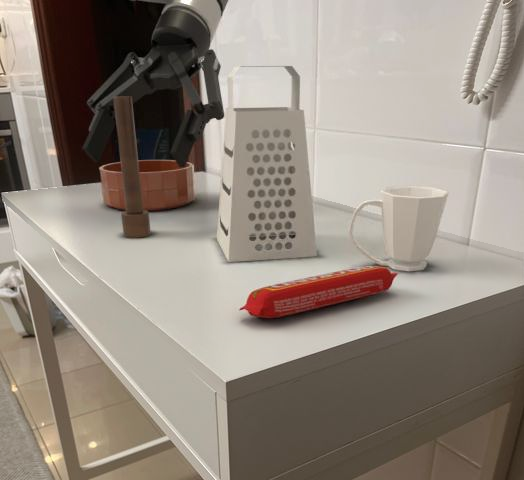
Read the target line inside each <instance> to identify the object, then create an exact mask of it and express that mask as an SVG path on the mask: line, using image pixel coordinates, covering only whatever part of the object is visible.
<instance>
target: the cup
mask: <svg viewBox="0 0 524 480" xmlns="http://www.w3.org/2000/svg"><path fill="white" fill-rule="evenodd" d="M379 192H380V199H378V198H377V199H367V200H365V201H363V202H361V203H360V204H359V205H358V206H357V207H356V208H355V209H354V211H353V213H352V217H351V219H350V225H349V232H348V233H349V237H350V240H351V243H352V244H353V246H354V247H355V248H356V250H357V251H358V252H360V253H361V254H362V255H363V256H365V257H366V258H367V259H369V260H370V261H371V262H372V263H373V262H374V263H375V264H378V265H379V266H382V267H388V268H390V269H393V270H395V271H401V272H417V271H423V270H424V269H425V268H426V267H427V265H428V263H427V262H426V261H425V260H426V259H428V257H429V255H430V253H431V250H432V248H433V246H434V243H435V240H436V238H437V235H438V231H439V227H440V224H441V220H442V217H443V214H444V209H445V207H446V203H447V199H448V196H449V191H447V190H443V189H440V188H437V187H433V186H421V185H419V186H418V185H400V186H398V185H397V186H388V187H386V188H385V189H384V188H383V189H382V190H380V191H379ZM366 206H374V207H379V208H381V222H382V224H381V225H382V238H383V243H384V249H385V255H386V256H387V257H389V259H388V260H381V259H379V258H377V257H375V256H373V255H372V254H370V253H369V252H367V251H366V250H365V249H364V248H362V246H360V245H359V243H358V242H357V241H356V240H355V237H354V235H353V230H354V224H355V222H356V218H357V216H358V214H359V213H360V212H361V211H362V209H363V208H364V207H366Z"/></svg>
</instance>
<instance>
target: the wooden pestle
mask: <svg viewBox="0 0 524 480" xmlns="http://www.w3.org/2000/svg"><path fill="white" fill-rule="evenodd" d="M113 99H114V108H115V126H116V135H117V142H118V151H119V159H120V160H119V162H121V169H122V178H123V187H124V196H125V204H126V210H123V211H122V212H121V213H120V215H121V224H122V225H121V226H122V233H123V236H124V237H125V238H129V239H130V238H131V239H140V238H146V237H148V236H151V233H152V232H151V220H150V213H149V212H150V211H147V210H143V204H142V194H141V184H140V174H139V164H138V160H139V156H138V155H139V154H138V147H137V135H136V125H135V118H134V117H135V115H134V106H133V104H132V97H131V96H116V97H113Z"/></svg>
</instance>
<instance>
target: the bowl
mask: <svg viewBox="0 0 524 480" xmlns="http://www.w3.org/2000/svg"><path fill="white" fill-rule="evenodd" d="M138 164H139V174H140V184H141V194H142V204H143V210H147V211H148V212H153V211H165V210H170V209H171V210H173V209H176V208H180V207H183V206H186V205H188V204H189V203H191V202H193V201H195V199H196V184H195V183H196V182H195V165H194V163H192V162H188V161H187V163H186V165H185V167H179V165H178V164H177V162H176V161H175V159H142V160H139V159H138ZM98 171H99V179H100V185H101V186H100V187H101V194H102V201H103V203H104V205H107V206H110V207H112V208H114V209H117V210H120V211H121V210H122V211H126V204H125V196H124V187H123V178H122V169H121V161H118V162H112V163H107V164H103V165H102V166H100V167H98Z"/></svg>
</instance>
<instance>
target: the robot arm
mask: <svg viewBox="0 0 524 480" xmlns="http://www.w3.org/2000/svg"><path fill="white" fill-rule="evenodd" d="M129 1H131V2H136V1H137V0H129ZM138 1H142V2H148V3H157V4H165V5H164V7H163V9H162V11H161V15H160V16H159V19H158V21H157V23H156V25H155V28H154V30H153V32H152V34H151V47H150V51H149V52H148V54H146V55H145V56H144V57H139V56H137V54H136V52H135V51H130V52H129V53H128V54H127V55H126V57H125V59H124V60H123V63H121V65H120V66H119V67H118V68H117V69H116V70H115V71H114V72H113V73H112V74H111V76H109V77H108V78H107V80H106V81H105V82H104V83H103V84H102V85H101V86H100V87H99V88H98V89H97V90H96V91H95V92H94V93H93V94H92V95H91V96H90V97H89V98H88V100H87V101H86V105H87V106H88V107H89V109H90V110H91V111H92V112H93V114H94V115H93V118H92V120H91V122H90V124H89V127H88V132H89V133H88V135H87V137H86V140H85V142H84V144H83V146H82V148H81V149H82V151H83V152H84V153H85V154H86V155H87V157H89V158H90V159H91V161H92V162H93V163H99V162H100V159H101V157H102V155H103V153H104V150H105V148H106V146H107V144H108V141H109V139H110V137H111V135H112V132H113V130H114V128H115V126H116V121H114V119H116V117H115V108H114V99H113V97H116V96H131V97H132V105H133V104H134V103H136V102H138V100H140V99H141V98H142V97H144V96H145V95H152V94H153V93H154V92H156V91H157V90H159V91H160V90H174V91H176V90H178V88H180V87H183V89H184V91H185V94H186V95H187V97H188V99H189V101H190V104H191V106H192V107H193V109H194V110H193V109H187V110H186V112H185V114H184V117H183V119H182V122H181V124H180V127H179V129H178V132H177V134H176V137H175V139H174V142H173V144H172V147H171V149H170V152H169V153H170V155H171V157H172V158H173V160H175V161H176V162H177V164H178V165H179V167H185V165H186V163H187V162H188V160H189V158H190V155H191V152H192V150H193V147H194V145H195V143H198V142H200V140H201V139H202V137H203V133H204V131H205V128H206V125H207V124H209V123H210V121H211V120H217V121H221V120H223V119H225V118H224V117H225V109H224V103H223V99H222V91H221V86H220V81H219V80H220V79H219V75H220V72H221V67H222V65H221V63H220V62H219V59H218V57H217V55H216V52H215V50H214V49H213V48H211V49H210V47H211V44H212V42H213V40H214V38H215V35H216V32H217V31H218V28H219V25H220V22H221V19H222V17H223V14H224V12H225V9H226V7H227V5H228V3H229V0H138ZM200 70H202V72H203V78H204V85H205V91H206V98H207V103H205V104H204V103H203V102H202V99H201V97H200V95H199V93H198V92H197V89H196V88H195V86H194V84H193V81H192V80H191V79H192V78H193V77H194V76H196V75H197V74H198V73H199V72H200ZM145 75H147V78H148V80H149V81H150V83H149V84H148V82H147V81H146V79H145V77H144V76H145ZM12 143H13V142H12V140H9V141H6V142H5V143H3V144H1V145H0V150H3V149H5V148H6V147H8V146H10V145H12Z"/></svg>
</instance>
